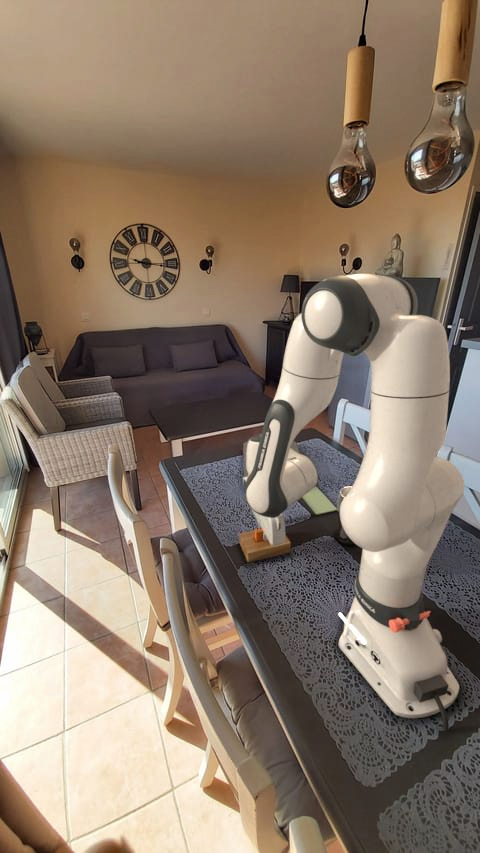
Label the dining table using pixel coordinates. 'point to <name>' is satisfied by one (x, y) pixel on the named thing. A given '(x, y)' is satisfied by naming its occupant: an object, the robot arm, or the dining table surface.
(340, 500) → the beer glass
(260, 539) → the block
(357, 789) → the dining table surface
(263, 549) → the token holder
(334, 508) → the mat
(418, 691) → the robot arm
